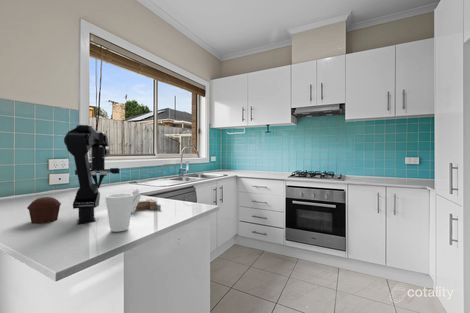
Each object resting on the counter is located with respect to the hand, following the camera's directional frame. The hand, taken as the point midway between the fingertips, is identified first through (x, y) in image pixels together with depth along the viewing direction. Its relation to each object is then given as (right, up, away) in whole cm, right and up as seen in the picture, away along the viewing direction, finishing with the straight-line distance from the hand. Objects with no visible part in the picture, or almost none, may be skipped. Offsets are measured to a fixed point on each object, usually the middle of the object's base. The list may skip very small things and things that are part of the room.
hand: (97, 188), depth 112 cm
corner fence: (+22, -12, +7) cm, 26 cm away
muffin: (-14, -12, -15) cm, 24 cm away
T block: (+21, -12, +6) cm, 25 cm away
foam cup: (+24, -12, -26) cm, 37 cm away
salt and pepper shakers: (+14, -11, +2) cm, 18 cm away
